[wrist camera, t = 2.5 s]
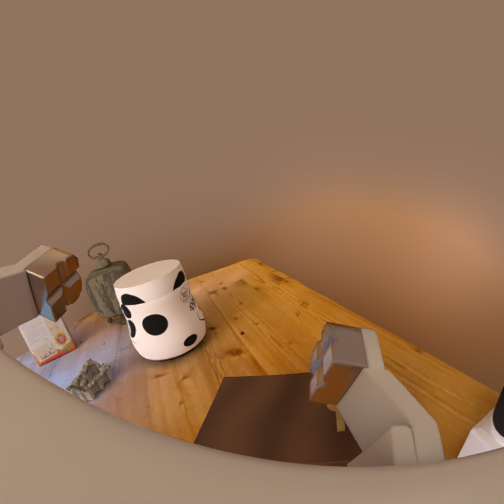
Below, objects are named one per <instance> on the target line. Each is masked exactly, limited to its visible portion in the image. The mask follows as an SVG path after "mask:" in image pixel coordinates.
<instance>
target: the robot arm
mask: <svg viewBox="0 0 504 504" xmlns="http://www.w3.org/2000/svg"><path fill="white" fill-rule="evenodd" d="M78 268H79V263H78V258H77V257H76V256H74V255H72V254H70V253H67V252H64V251H61V250H58V249H56V248H53V247H50V246H48V245H41V246H40V247H39V248H37V249H36V250H34V251H33V252H32V253H30V254H29V255H28V256H26V257H25V258H24V259H22V260H21V261H20V262H19V263H17V264H16V265H15V266H14V265H9V266H5V267H2V268H0V336H1V335H3V334H5V333H7V332H9V331H11V330H12V329H14V328H16V327H18V326H20V325H22V324H24V323H26V322H28V321H30V320H32V319H34V318H36V317H38V316H39V315H41V316H43V317H45V318H47V319H49V320H51V321H53V322H57V321H58V320H59V319H60V318H61V316H62V315H63V314H64V313H65V312H66V311H67V305H70V304H73V303H74V302H75V301H76V300H77V299H78V297H79V295H80V293H81V290H82V281H81V277H80V275H79V274H78V272H77V270H78ZM310 372H311V374H312V375H313V378H312V380H311V382H310V396H309V401H312V402H318V403H325V404H331V405H337V406H336V407H337V409H338V411H339V413H340V414H341V416H342V418H343V419H344V421H345V423H346V424H347V426H348V428H349V430H350V431H351V433H352V435H353V436H354V438H355V440H356V442H357V443H358V445H359V447H360V448H361V450H362V453H361V454H359V455H358V456H357V457H356V458H354V459H353V460H352V461H351V462H349V463H348V464H347V467H342V466H322V465H309V464H298V463H290V462H282V461H274V460H268V459H262V458H256V457H250V456H245V455H240V454H235V453H231V452H226V451H222V450H218V449H214V448H210V447H206V446H202V445H198V444H195V443H191V442H188V441H185V440H181V439H178V438H175V437H172V436H169V435H166V434H163V433H160V432H157V431H154V430H151V429H149V428H146V427H143V426H141V425H138V424H136V423H133V422H131V421H128V420H126V419H123V418H121V417H119V416H116V415H114V414H112V413H110V412H107V411H105V410H103V409H101V408H99V407H97V406H94V405H92V404H90V403H88V402H86V401H84V400H82V399H80V398H79V397H77V396H75V395H73V394H71V393H69V392H67V391H65V390H64V389H62V388H60V387H58V386H57V385H55V384H53V383H51V382H50V381H48V380H46V379H45V378H43V377H41V376H40V375H38V374H37V373H35V372H34V371H32V370H30V369H29V368H27V367H26V366H24V365H23V364H21V363H20V362H18V361H17V360H16V359H14V358H13V357H11V356H10V355H9V354H7V353H6V352H4V351H3V343H2V341H1V339H0V504H504V447H501V448H497V449H494V450H490V451H486V452H482V453H478V454H474V455H469V456H464V457H459V458H454V459H448V460H445V456H444V451H443V446H442V441H441V437H440V432H439V428H438V424H437V422H436V421H435V420H434V419H433V418H432V417H431V415H430V414H429V413H428V412H427V411H426V410H425V409H424V408H423V407H422V405H421V404H420V403H419V402H418V401H417V400H416V399H415V398H414V397H413V396H412V394H411V393H410V392H409V391H408V390H407V389H406V388H405V387H404V386H403V385H402V384H401V382H400V381H399V380H398V379H397V378H396V377H395V376H394V375H393V374H392V373H391V372H390V371H387V370H385V366H384V362H383V357H382V353H381V349H380V345H379V341H378V337H377V333H376V331H375V330H373V329H366V328H360V327H359V328H357V327H351V326H346V325H341V324H335V323H330V322H327V323H326V324H325V326H324V328H323V330H322V339H321V340H320V341H318V342H317V343H316V345H315V347H314V350H313V353H312V357H311V362H310Z"/></svg>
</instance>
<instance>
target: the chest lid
mask: <svg viewBox="0 0 504 504" xmlns="http://www.w3.org/2000/svg"><path fill="white" fill-rule="evenodd" d="M312 378H313V375H312V374H311V372H309V373H298V374H285V375H269V376H246V377H224V378H223V380H222V383H221V385H220V387H219V389H218V392H217V394H216V396H215V398H214V400H213V403H212V405H211V407H210V409H209V411H208V414H207V416H206V418H205V420H204V422H203V424H202V427H201V429H200V431H199V433H198V435H197V437H196V439H195V442H194V443H195V444H198V445H202V446H206V447H210V448H214V449H218V450H222V451H226V452H231V453H235V454H240V455H245V456H250V457H256V458H262V459H268V460H274V461H282V462H290V463H298V464H309V465H322V466H341V465H347V464H348V463H349V462H351V461H352V460H353V459H354V458H356V457H357V456H358V455H359V454H361V453H362V450H361V448H360V447H359V445H358V443H357V442H356V440H355V438H354V436H353V435H352V433H351V431H350V430H349V428H348V426H347V424H346V423H345V421H344V419H343V418H342V416H341V414H340V413H339V411H338V409H337V407H336V406H337V405H331V404H325V403H318V402H312V401H309V396H310V382H311V380H312Z"/></svg>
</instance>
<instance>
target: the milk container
mask: <svg viewBox="0 0 504 504" xmlns="http://www.w3.org/2000/svg"><path fill="white" fill-rule="evenodd" d="M114 289H115V292H116V296H117V299H118V301H119V304H120V307H121V309H122V311H123V314H124V316H125V318H126V320H127V323H128V328H129V334H130V338H131V341H132V343H133V345H134V347H135V348H136V350H137V351H138V352H139V354H140V355H141V356H143V357H144V358H146V359H148V360H153V361H165V360H172V359H175V358H177V357H180V356H183V355H185V354H186V353H188V352H190V351H192V350H193V349H194V348H195V347H196V346H197V345H198V344H199V343H200V342H201V341H202V340H203V338H204V336H205V332H206V325H205V319H204V316H203V313H202V311H201V310H200V308H199V307H198V305H197V304H196V302H195V301H194V299H193V297H192V295H191V292H190V289H189V285H188V282H187V279H186V278H185V273H184V270H183V268H182V266H181V264H180V262H179V261H177V260H164V261H159V262H155V263H151V264H148V265H145V266H143V267H140V268H137V269H135V270H133V271H130V272H129V273H127V274H125V275H123V276H122V277H120V278H119V279H118V280H116V282H115V283H114Z"/></svg>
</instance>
